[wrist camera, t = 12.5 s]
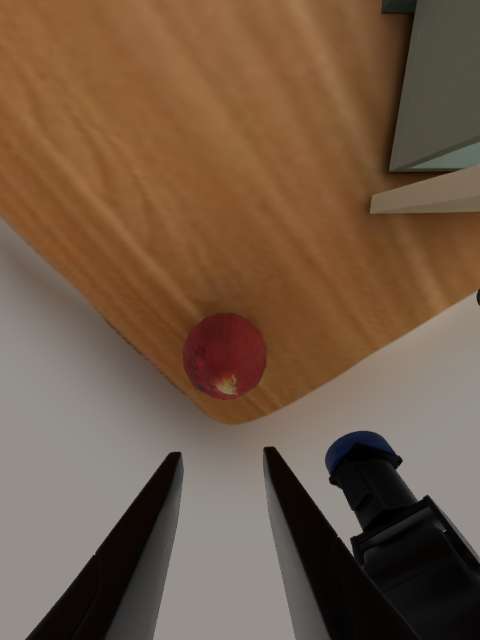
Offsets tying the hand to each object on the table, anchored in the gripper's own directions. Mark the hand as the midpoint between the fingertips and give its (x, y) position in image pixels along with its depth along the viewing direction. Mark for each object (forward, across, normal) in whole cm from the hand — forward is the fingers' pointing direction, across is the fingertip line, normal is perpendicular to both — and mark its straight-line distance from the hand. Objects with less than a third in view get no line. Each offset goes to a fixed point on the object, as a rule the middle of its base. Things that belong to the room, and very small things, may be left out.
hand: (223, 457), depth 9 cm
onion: (+12, 0, 0) cm, 12 cm away
